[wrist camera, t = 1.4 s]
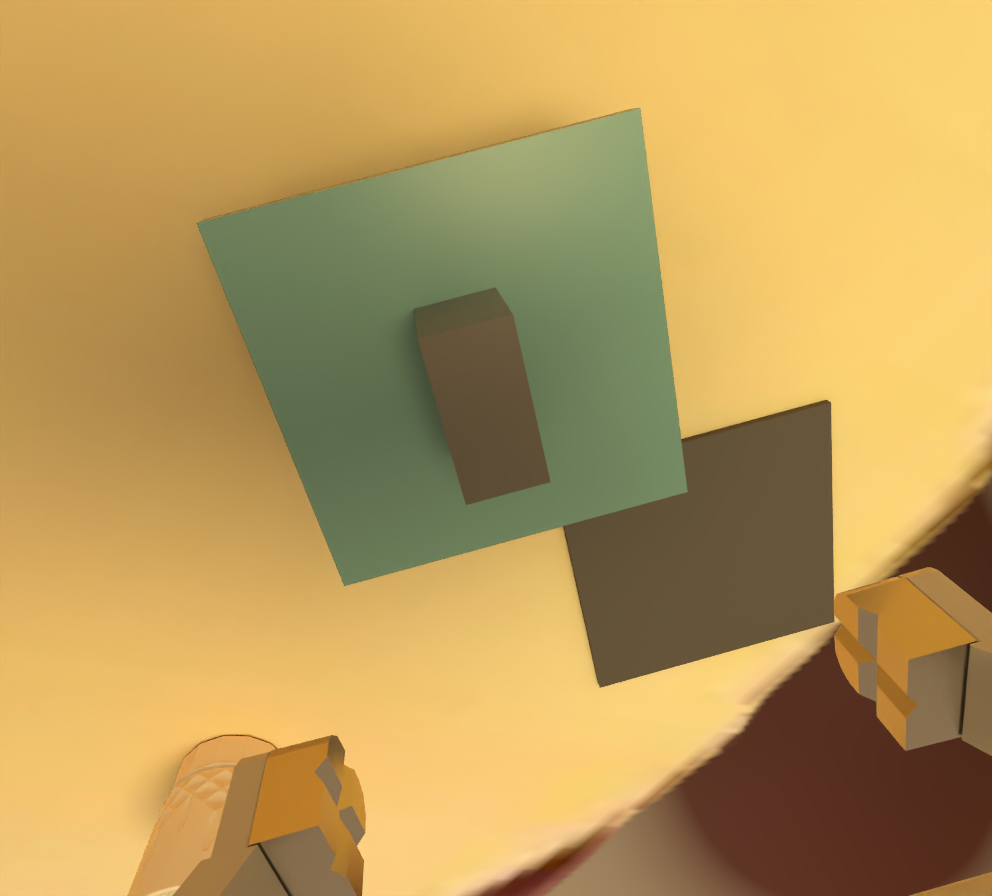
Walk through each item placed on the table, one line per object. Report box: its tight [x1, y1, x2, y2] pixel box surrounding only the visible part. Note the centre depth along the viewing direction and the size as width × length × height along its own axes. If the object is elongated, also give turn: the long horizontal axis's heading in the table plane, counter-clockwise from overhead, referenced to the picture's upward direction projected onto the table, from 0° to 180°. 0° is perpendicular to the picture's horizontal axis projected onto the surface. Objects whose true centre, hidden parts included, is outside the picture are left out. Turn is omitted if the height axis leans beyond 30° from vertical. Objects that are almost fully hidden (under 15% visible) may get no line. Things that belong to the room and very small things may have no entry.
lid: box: [197, 108, 687, 586], centre depth 25 cm, size 15×15×6 cm
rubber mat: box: [564, 400, 834, 687], centre depth 42 cm, size 16×16×1 cm
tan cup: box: [127, 736, 276, 896], centre depth 40 cm, size 8×8×10 cm
